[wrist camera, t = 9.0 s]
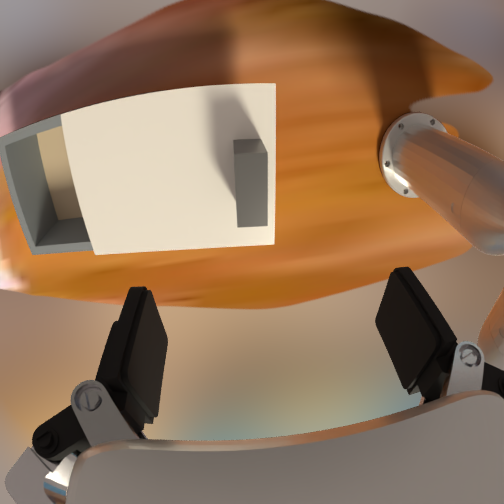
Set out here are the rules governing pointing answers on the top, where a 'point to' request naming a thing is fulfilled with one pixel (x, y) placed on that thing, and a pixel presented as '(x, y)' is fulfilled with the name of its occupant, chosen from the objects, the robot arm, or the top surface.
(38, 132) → the grey box
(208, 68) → the top surface
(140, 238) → the sliding lid
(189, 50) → the top surface
